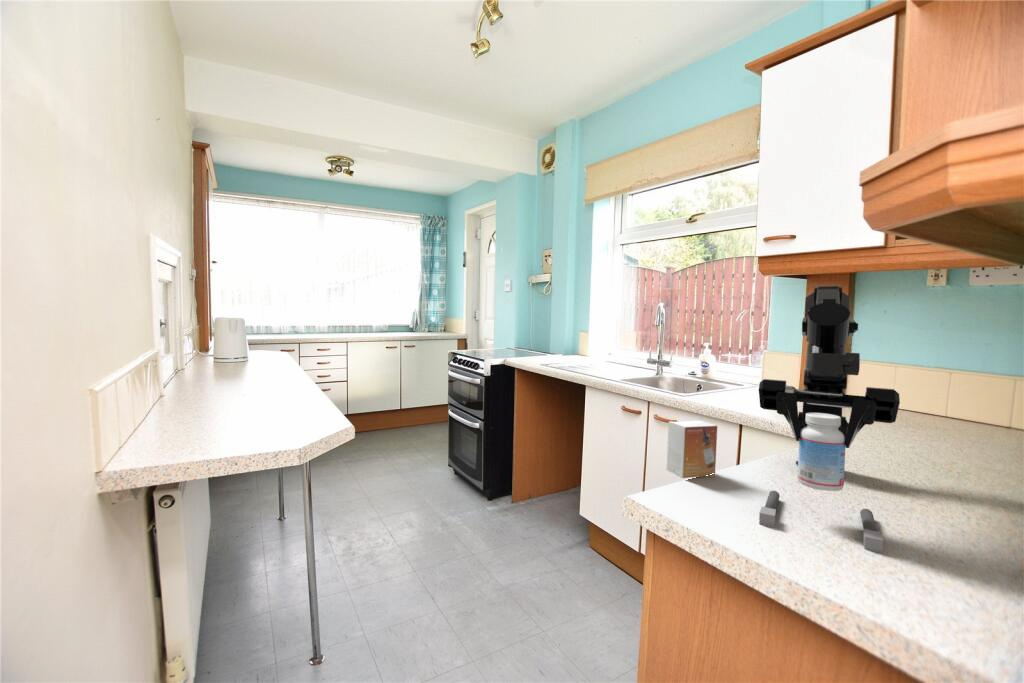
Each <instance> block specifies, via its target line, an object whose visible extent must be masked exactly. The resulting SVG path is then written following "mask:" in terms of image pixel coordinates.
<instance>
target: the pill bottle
mask: <svg viewBox="0 0 1024 683" xmlns="http://www.w3.org/2000/svg"><path fill="white" fill-rule="evenodd" d="M805 421H806V423H807V427H804V428H802V429H801V431H800V435H799V441H798V454H797V455H798V458H797V459H798V460H797V461H798V464H797V481H798V482H799V483H800V484H802V485H803V486H805V487H807V488H810V489H814V490H818V491H827V492H828V491H831V492H838V491H841V490H843V489H844V486H845V464H846V462H845V461H846V438H845V435H844V434H843V433H842V432H841V431H839V430H838V427H840V425H841V417H840V416H837V415H832V414H826V413H806V417H805Z"/></svg>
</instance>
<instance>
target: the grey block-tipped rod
mask: <svg viewBox="0 0 1024 683" xmlns="http://www.w3.org/2000/svg"><path fill="white" fill-rule="evenodd" d="M779 500H780V493H779V492H778V491H776V490H770V491H769V494H768V496H767V499H766V502H765V505H764V506H761V508H760V511H759V518H758V520H759V521H758V522H759V523H758V524H759V525H762V526H766V527H770V528H775V526H776V520H777V519H776V518H777V507H778V504H779Z"/></svg>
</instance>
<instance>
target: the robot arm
mask: <svg viewBox="0 0 1024 683" xmlns="http://www.w3.org/2000/svg"><path fill="white" fill-rule="evenodd" d="M804 300H805V304H804V317H803V318H802V321H801V334H802V336H804V337H806V342H807V347H806V359H805V360H806V361H805V369H804V372H803V389H799V388H796V387H795V386H793V385H787V380H781V379H780V380H779V379H769V378H764V379H762V380H761V381H760V382H759V386H758V398H759V407H760V408H761V409H762V410H768V411H776V413H777V414H778V415H783V417H784V418H785V420H786V421H787V422H788V425H789V426H790V429H791V431H792V434H793V436H794V439H795V441H796V442H799V435H800V431H801V429H802V428H804V427H807V423H806V421H805V417H806V413H826V414H832V415H837V416H840V417H841V425H840V427H838V430H839V431H841V432H842V433H843V434H844V435H845V438H846V446H845V449H849V448H851V445H852V443H853V442H854V440H855V438H856V436H857V435H858V433H859V432H860V431H861V430H862V429H863V428H864V427H865V426H866V425H873V424H874V423H876V422H877V423H884V424H885V423H886V424H893V423H896V420H897V416H898V412H899V409H900V404H901V400H900V393H898V391H896V390H895V389H894V388H885V387H874V386H873V387H871V386H867V387H865V394H864V395H855V394H854V395H853V394H846V390H847V386H848V376H858V375H859V374H860V368H861V367H860V363H861V361H860V359H861V358H860V356H861V355H860V353H859V352H847V346H846V344H847V342H848V339H849V338H853V336H854V333H856V332H858V331H859V323H857V322H856V321H855V320H854V318H853V317H851V312H850V311H851V309H850V308H851V297H850V296H849V295H848V294H846V293H845V292H843V286H839V285H818V286H816V287H814V290H813V292H812V293H810V294H808V295H807V296H805V299H804ZM798 403H802V411H799V409H798V408H799V407H798ZM843 408H844V409H845V408H846V409H851V411H850V416H849V420H847V417H846V416H843ZM795 464H796V465H798V460H796V461H795Z"/></svg>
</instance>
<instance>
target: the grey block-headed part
mask: <svg viewBox="0 0 1024 683" xmlns="http://www.w3.org/2000/svg"><path fill="white" fill-rule="evenodd" d="M859 513H860V518H861V519H860V520H861V523H862V527H863V528H862V529H863V533H862V543H863V548H864V550H867V551H872V552H876V553H880V554H884V537H883V534H882V532H880V531H878V529H877V528H878V527H877V524H876V522H875V518H874V514H873V511H872V510H870V509H868V508H862V509H861V510H860V512H859Z"/></svg>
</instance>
